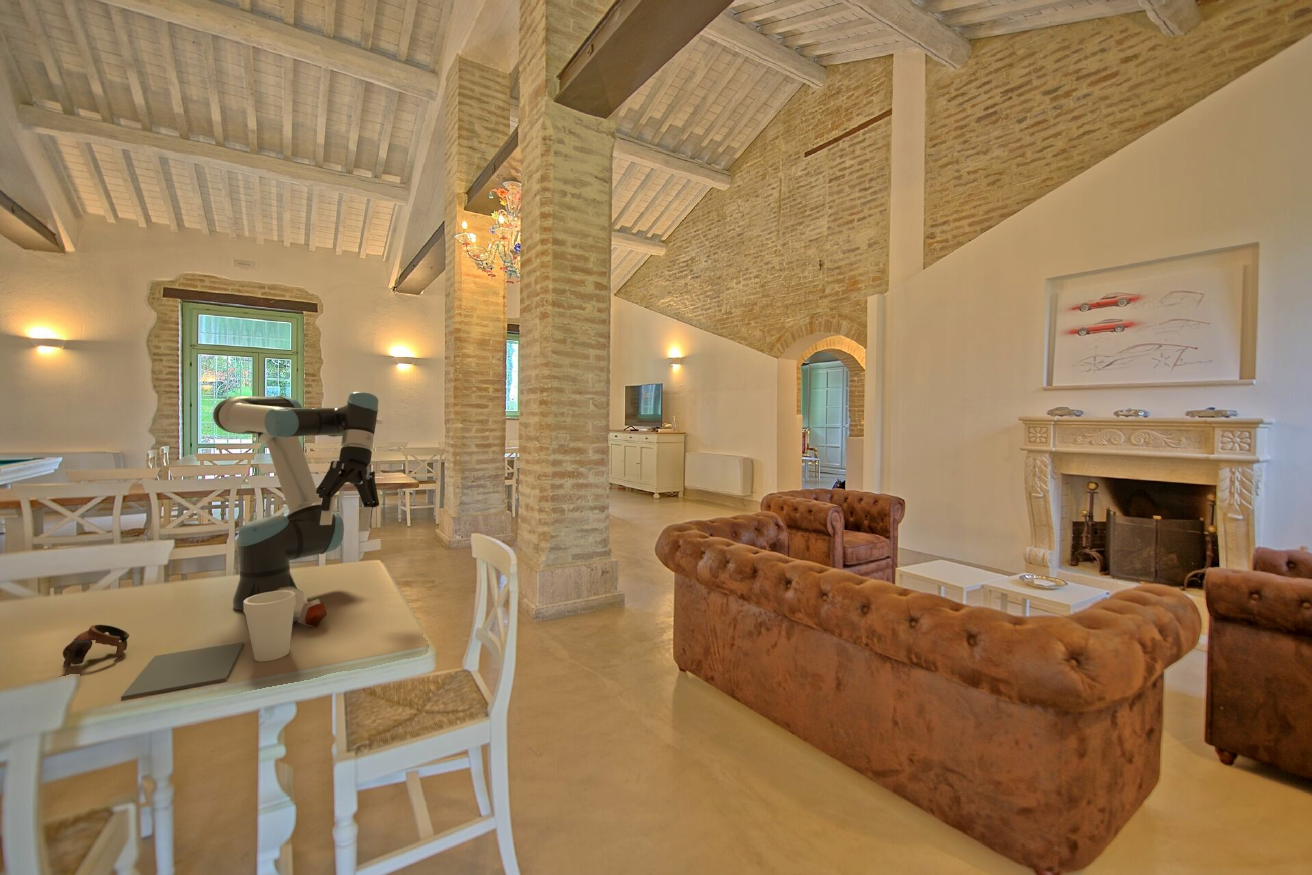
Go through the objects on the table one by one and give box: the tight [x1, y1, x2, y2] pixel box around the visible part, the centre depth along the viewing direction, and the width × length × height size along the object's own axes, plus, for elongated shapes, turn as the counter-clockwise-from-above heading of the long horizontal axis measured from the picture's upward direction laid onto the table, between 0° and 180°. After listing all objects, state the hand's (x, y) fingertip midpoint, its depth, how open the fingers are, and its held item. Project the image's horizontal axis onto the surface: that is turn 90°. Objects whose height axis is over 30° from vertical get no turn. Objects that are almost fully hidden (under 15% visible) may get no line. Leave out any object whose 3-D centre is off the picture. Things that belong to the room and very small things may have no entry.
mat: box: [120, 641, 245, 700], centre depth 119 cm, size 16×20×1 cm
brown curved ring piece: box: [62, 624, 130, 668], centre depth 123 cm, size 12×10×8 cm
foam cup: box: [243, 590, 296, 662], centre depth 126 cm, size 10×9×13 cm
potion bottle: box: [276, 586, 328, 628], centre depth 144 cm, size 9×10×15 cm
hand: (345, 528), depth 147 cm, fingers open, 13 cm apart
